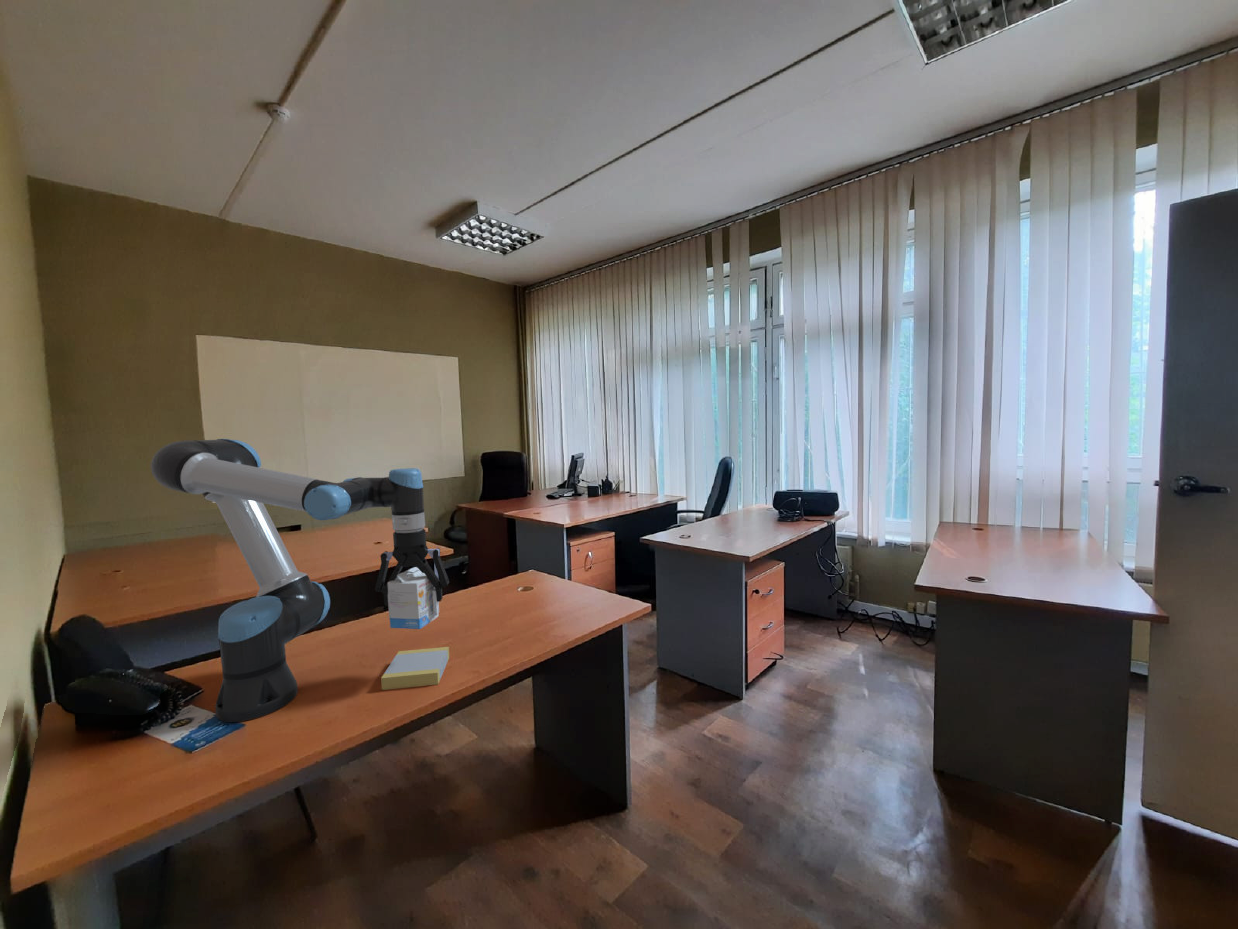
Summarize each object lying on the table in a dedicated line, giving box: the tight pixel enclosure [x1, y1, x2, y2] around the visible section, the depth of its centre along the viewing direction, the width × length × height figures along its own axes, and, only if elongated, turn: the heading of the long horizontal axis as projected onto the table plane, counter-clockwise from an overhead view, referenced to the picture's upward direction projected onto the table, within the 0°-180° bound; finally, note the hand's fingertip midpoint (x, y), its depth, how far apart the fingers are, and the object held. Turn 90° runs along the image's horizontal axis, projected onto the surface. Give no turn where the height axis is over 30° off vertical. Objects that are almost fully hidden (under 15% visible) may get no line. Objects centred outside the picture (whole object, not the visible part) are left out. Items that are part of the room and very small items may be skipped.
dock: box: [380, 646, 450, 691], centre depth 122 cm, size 13×14×3 cm
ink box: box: [387, 566, 439, 630], centre depth 121 cm, size 9×8×13 cm
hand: (414, 615), depth 121 cm, fingers closed on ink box, 10 cm apart
